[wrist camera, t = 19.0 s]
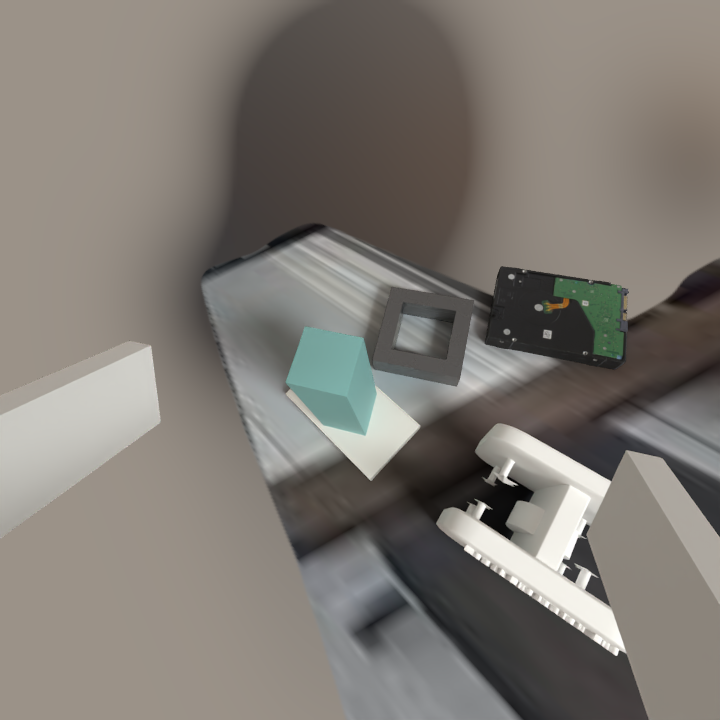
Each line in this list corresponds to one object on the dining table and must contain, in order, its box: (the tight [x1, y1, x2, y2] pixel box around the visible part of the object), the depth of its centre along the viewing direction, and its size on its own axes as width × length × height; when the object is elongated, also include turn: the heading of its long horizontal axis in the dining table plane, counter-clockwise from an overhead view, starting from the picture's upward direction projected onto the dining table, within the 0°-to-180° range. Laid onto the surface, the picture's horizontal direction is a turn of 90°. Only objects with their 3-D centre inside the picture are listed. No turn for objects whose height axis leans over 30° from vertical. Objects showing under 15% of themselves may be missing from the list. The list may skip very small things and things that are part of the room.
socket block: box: [372, 287, 474, 386], centre depth 47 cm, size 10×10×3 cm
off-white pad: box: [286, 385, 420, 481], centre depth 45 cm, size 14×8×2 cm, turn 45°
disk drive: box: [485, 266, 629, 369], centre depth 47 cm, size 10×3×15 cm
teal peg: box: [285, 326, 377, 436], centre depth 38 cm, size 5×5×15 cm
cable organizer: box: [436, 424, 626, 656], centre depth 34 cm, size 15×11×12 cm
